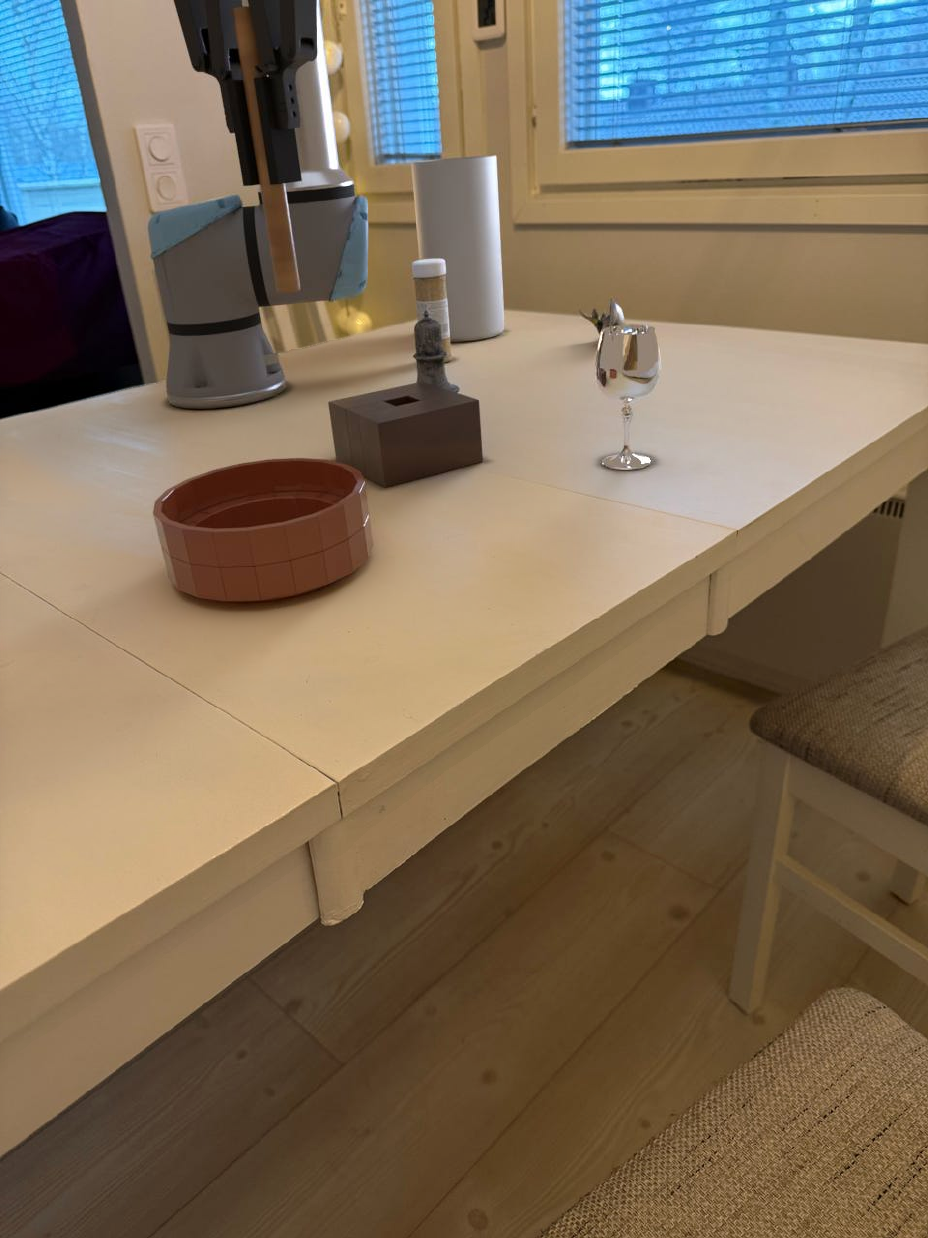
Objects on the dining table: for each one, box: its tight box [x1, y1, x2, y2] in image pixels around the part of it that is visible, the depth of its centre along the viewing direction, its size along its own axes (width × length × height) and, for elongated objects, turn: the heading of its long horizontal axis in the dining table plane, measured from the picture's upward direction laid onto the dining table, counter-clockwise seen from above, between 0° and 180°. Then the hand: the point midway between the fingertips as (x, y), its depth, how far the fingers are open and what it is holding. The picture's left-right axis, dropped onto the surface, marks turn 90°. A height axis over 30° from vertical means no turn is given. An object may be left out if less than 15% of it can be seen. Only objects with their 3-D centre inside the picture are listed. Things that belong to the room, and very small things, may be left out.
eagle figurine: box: [578, 298, 627, 336], centre depth 130 cm, size 8×7×9 cm
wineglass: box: [594, 323, 662, 471], centre depth 82 cm, size 6×6×12 cm
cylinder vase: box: [410, 154, 505, 343], centre depth 139 cm, size 12×12×25 cm
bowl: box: [152, 457, 374, 603], centre depth 68 cm, size 15×15×6 cm
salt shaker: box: [412, 310, 460, 393], centre depth 99 cm, size 6×6×12 cm
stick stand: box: [327, 381, 484, 488], centre depth 89 cm, size 11×11×6 cm
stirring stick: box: [232, 6, 301, 293], centre depth 65 cm, size 2×2×18 cm
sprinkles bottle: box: [411, 259, 453, 364], centre depth 126 cm, size 5×5×14 cm
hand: (272, 182), depth 66 cm, fingers closed on stirring stick, 2 cm apart
